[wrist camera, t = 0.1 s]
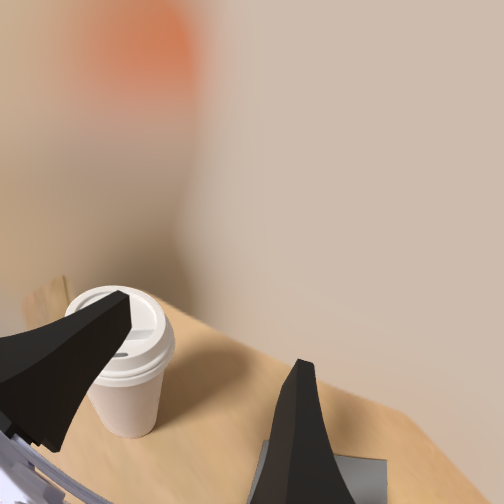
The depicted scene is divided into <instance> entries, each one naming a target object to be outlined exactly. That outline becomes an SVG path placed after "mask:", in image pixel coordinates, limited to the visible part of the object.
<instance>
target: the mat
mask: <svg viewBox="0 0 504 504" xmlns="http://www.w3.org/2000/svg"><path fill="white" fill-rule="evenodd" d="M268 445H269V441H266V440H265V441H264V443H263V447H262V451H261V454H260V458H259V462H258V466H257V469H256V473H255V477H254V480H253V484H252V487H251V491H250V494H249V498H248V501H247V504H250V501H251V499H252V496H253V494H254V491H255V488H256V486H257V483H258V480H259V477H260V474H261V471H262V468H263V465H264V462H265V458H266V454H267V450H268ZM334 458H335V460H336V463H337V465H338V468H339V471H340V473H341V475H342V477H343V479H344V481H345V484H346V486H347V488H348V490H349V492H350V494H351V496H352V497H353V499H354V501H355V503H356V504H387V461H385V460H372V459H362V458H353V457H345V456H338V455H334Z"/></svg>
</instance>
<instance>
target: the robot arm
mask: <svg viewBox="0 0 504 504" xmlns="http://www.w3.org/2000/svg"><path fill="white" fill-rule="evenodd" d="M131 329H132V321H131V309H130V295H128V294H126V293H124V292H122V291H119V290H117V291H115V292H113V293H111V294H109V295H107V296H105V297H103V298H101V299H99V300H98V301H96V302H94V303H92V304H90V305H88V306H86V307H84V308H82V309H80V310H78V311H76V312H74V313H72V314H70V315H68V316H66V317H64V318H62V319H59V320H57V321H55V322H53V323H50V324H48V325H45V326H42V327H40V328H37V329H34V330H31V331H27V332H23V333H20V334H16V335H12V336H7V337H2V338H0V500H1V501H0V504H70V503H68V502H67V501H65V500H64V497H65V495H66V494H65V493H64V492H63V491H62V490H61V489H60V488H58V487H57V486H56V485H55V484H53V483H52V482H51V481H49V480H48V479H46V478H45V477H43V476H42V475H40V474H39V473H37V472H36V471H35V467H37V468H38V469H39V470H40V471H41V472H43V473H44V474H45V475H46V476H48V477H49V478H50V479H52V480H53V481H54V482H56V483H57V484H58V485H60V486H61V487H63V488H64V489H65V490H67V491H68V492H70V493H71V494H73V495H74V496H76V497H77V498H79V499H80V500H82V501H83V502H85V503H86V504H113V503H111V502H110V501H108V500H106V499H104V498H103V497H101V496H99V495H98V494H96V493H94V492H93V491H91V490H89V489H88V488H86V487H85V486H83V485H81V484H80V483H78V482H77V481H75V480H74V479H72V478H71V477H70V476H68V475H67V474H65V473H64V472H63V471H61V470H60V469H58V468H57V467H56V466H54V465H53V464H52V463H50V462H49V461H48V460H47V459H45V458H44V457H43V456H42V455H40V454H39V453H38V452H37V451H36V450H34V449H33V448H32V447H31V446H30V445H31V443H32V442H33V443H34V444H36V445H37V446H38V447H39V446H40V444H42V445H44V446H45V447H46V448H47V449H49V450H50V451H51V452H53V453H55V452H60V449H61V446H62V443H63V441H64V438H65V435H66V433H67V431H68V428H69V426H70V424H71V422H72V419H73V417H74V415H75V413H76V411H77V409H78V407H79V406H80V404H81V402H82V400H83V398H84V397H85V395H86V393H87V391H88V390H89V388H90V386H91V385H92V384H93V382H94V381H95V379H96V378H97V377H98V375H99V374H100V373H101V372H102V370H103V369H104V368H105V366H106V365H107V364H108V363H109V361H110V360H111V359H112V358H113V356H114V355H115V354H116V352H117V351H118V350H119V348H120V347H121V346H122V344H123V342H124V341H125V339H126V338H127V336H128V334H129V332H130V331H131ZM250 504H356V503H355V501H354V499H353V497H352V496H351V494H350V492H349V490H348V488H347V486H346V484H345V481H344V479H343V477H342V475H341V473H340V471H339V468H338V465H337V463H336V460H335V458H334V455H333V452H332V449H331V446H330V443H329V440H328V436H327V432H326V429H325V425H324V421H323V417H322V412H321V407H320V402H319V397H318V391H317V385H316V377H315V369H314V364H313V363H311V362H307V361H304V360H301V359H297V361H296V363H295V365H294V367H293V368H292V370H291V372H290V373H289V375H288V377H287V379H286V380H285V382H284V384H283V385H282V388H281V391H280V395H279V398H278V401H277V405H276V408H275V414H274V419H273V424H272V429H271V435H270V440H269V445H268V450H267V454H266V458H265V462H264V465H263V468H262V471H261V474H260V477H259V480H258V483H257V486H256V488H255V491H254V494H253V496H252V499H251V501H250Z"/></svg>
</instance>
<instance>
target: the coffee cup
mask: <svg viewBox="0 0 504 504" xmlns="http://www.w3.org/2000/svg"><path fill="white" fill-rule="evenodd" d="M117 290H119V291H122V292H124V293H126V294H128V295H130V309H131V321H132V329H131V331H130V332H129V334H128V336H127V338H126V339H125V341H124V342H123V344H122V346H121V347H120V348H119V350H118V351H117V352H116V354H115V355H114V356H113V358H112V359H111V360H110V361H109V363H108V364H107V365H106V366H105V368H104V369H103V370H102V372H101V373H100V374H99V375H98V377H97V378H96V379H95V381H94V382H93V384H92V385H91V386H90V388H89V390H88V391H87V395H88V397H89V399H90V401H91V403H92V404H93V406H94V408H95V410H96V412H97V413H98V415H99V417H100V419H101V420H102V422H103V424H104V425H105V426H106V428H107V429H108V430H109V431H110V432H112V433H113V434H115V435H117V436H119V437H123V438H130V439H132V438H139V437H142V436H144V435H146V434H147V433H149V432H150V431H151V430H152V429H153V427H154V425H155V423H156V419H157V412H158V406H159V399H160V393H161V388H162V382H163V376H164V371H165V368H166V367H167V365H168V364H169V363H170V361H171V359H172V357H173V354H174V351H175V336H174V332H173V329H172V326H171V324H170V322H169V320H168V318H167V316H166V315H165V314H164V312H163V310H162V308H161V307H160V305H159V304H158V303H157V302H156V301H155V300H154V299H153V298H152V297H150V296H149V295H147V294H146V293H144V292H142V291H139V290H137V289H133V288H130V287H124V286H104V287H98V288H94V289H91V290H89V291H86V292H85V293H83V294H81V295H79V296H78V297H77V298H76V299H74V300H73V302H72V303H71V304H70V305H69V307H68V309H67V311H66V314H65V317H66V316H68V315H70V314H72V313H74V312H76V311H78V310H80V309H82V308H84V307H86V306H88V305H90V304H92V303H94V302H96V301H98V300H99V299H101V298H103V297H105V296H107V295H109V294H111V293H113V292H115V291H117Z"/></svg>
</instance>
